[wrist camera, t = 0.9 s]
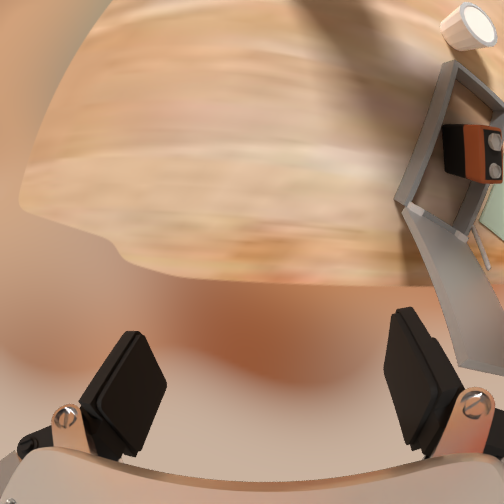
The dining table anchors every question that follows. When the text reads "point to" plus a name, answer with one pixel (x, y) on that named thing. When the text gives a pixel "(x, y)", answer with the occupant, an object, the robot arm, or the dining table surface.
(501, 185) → the rubber mat
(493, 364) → the case lid
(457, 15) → the shot glass
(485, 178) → the battery
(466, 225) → the case
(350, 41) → the dining table surface
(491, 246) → the dining table surface
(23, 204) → the dining table surface
